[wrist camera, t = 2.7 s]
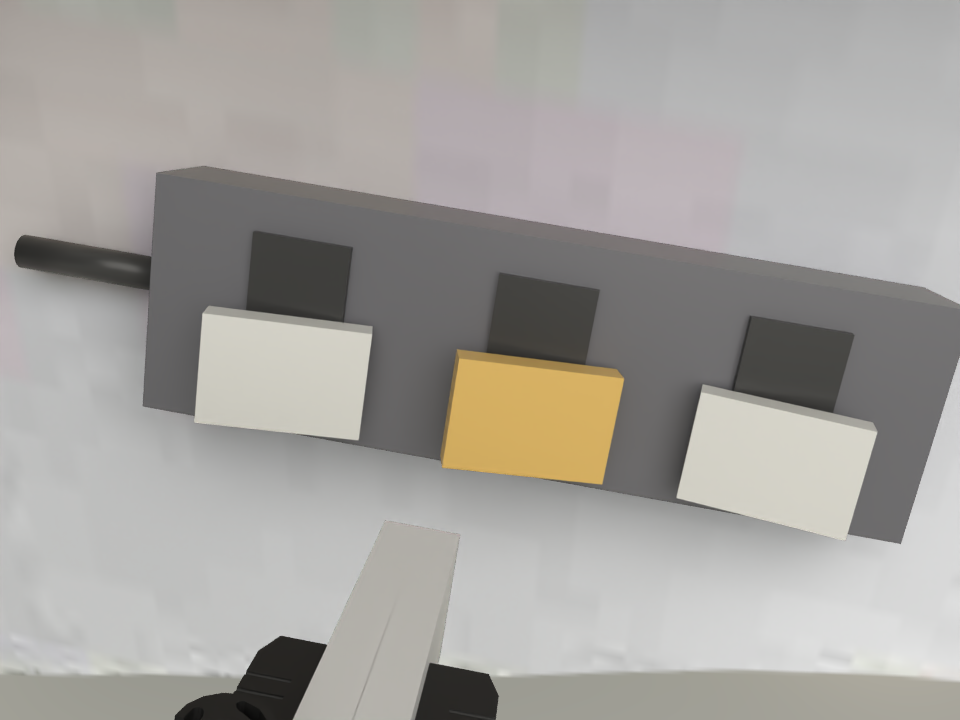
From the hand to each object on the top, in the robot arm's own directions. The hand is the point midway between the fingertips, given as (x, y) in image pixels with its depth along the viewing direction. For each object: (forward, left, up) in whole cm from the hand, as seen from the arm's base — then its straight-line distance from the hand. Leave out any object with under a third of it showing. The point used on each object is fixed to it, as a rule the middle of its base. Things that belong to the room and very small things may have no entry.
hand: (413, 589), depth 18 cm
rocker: (+10, 0, -12) cm, 16 cm away
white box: (-6, 0, -12) cm, 14 cm away
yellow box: (+2, 0, -12) cm, 12 cm away
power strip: (-1, +2, -17) cm, 17 cm away
